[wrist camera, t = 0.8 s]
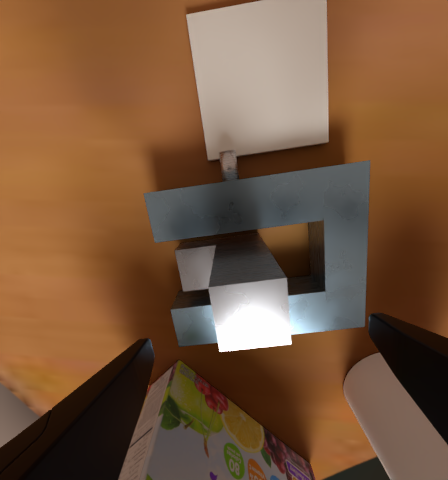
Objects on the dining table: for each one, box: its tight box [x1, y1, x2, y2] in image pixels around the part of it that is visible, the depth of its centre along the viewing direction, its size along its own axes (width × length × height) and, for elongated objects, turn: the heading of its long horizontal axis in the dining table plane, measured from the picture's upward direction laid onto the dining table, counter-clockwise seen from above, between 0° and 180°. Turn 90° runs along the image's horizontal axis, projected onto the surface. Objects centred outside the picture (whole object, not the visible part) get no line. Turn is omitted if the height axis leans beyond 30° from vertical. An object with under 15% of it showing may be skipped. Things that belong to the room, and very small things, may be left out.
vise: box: [144, 150, 370, 347], centre depth 17 cm, size 15×14×3 cm
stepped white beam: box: [175, 233, 292, 352], centre depth 14 cm, size 7×4×9 cm, turn 98°
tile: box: [186, 0, 329, 161], centre depth 15 cm, size 9×9×1 cm
